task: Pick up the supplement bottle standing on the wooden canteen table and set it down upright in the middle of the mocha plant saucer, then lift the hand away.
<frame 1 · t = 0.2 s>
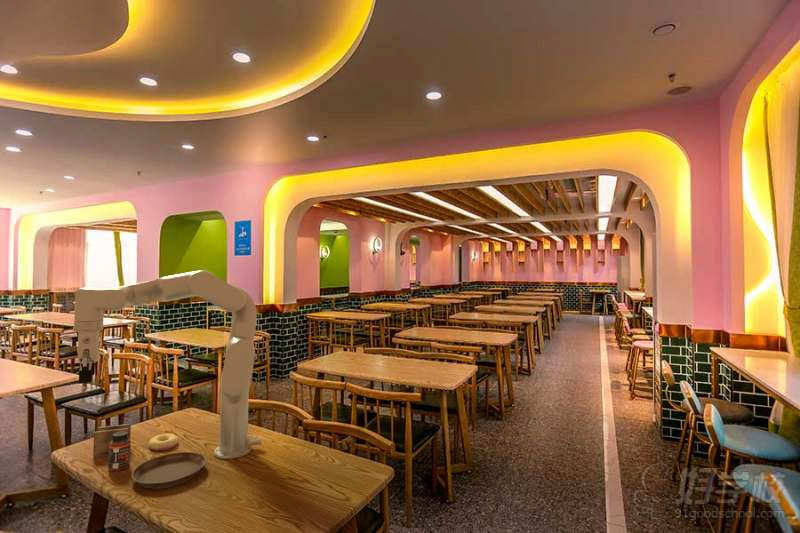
hand: (87, 378, 133), 30 cm above the table, tool pointing down, fingers open, 9 cm apart
supplement bottle: (119, 468, 136), on the table
donut: (163, 446, 153), on the table
napkin holder: (112, 452, 147), on the table
plant saucer: (169, 476, 132), on the table
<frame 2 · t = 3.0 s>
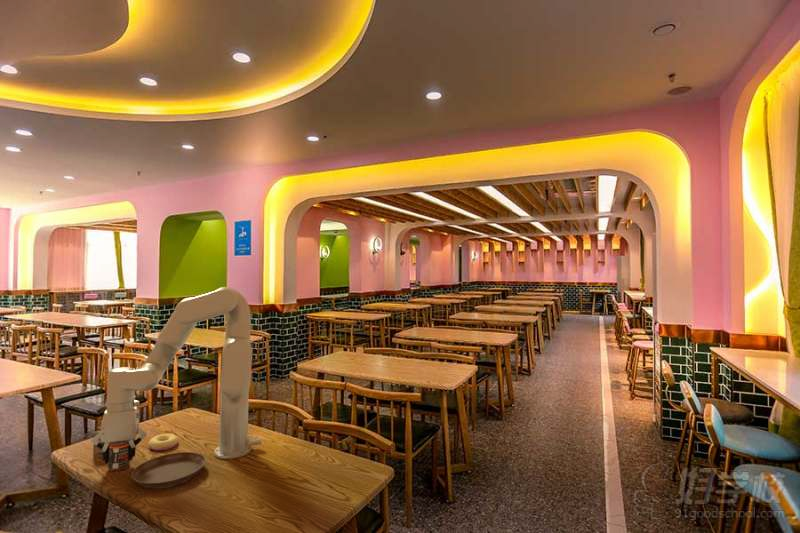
hand: (119, 459, 136), 3 cm above the table, tool pointing down, fingers closed on supplement bottle, 6 cm apart
supplement bottle: (119, 468, 136), on the table, touching gripper
everything else where it was.
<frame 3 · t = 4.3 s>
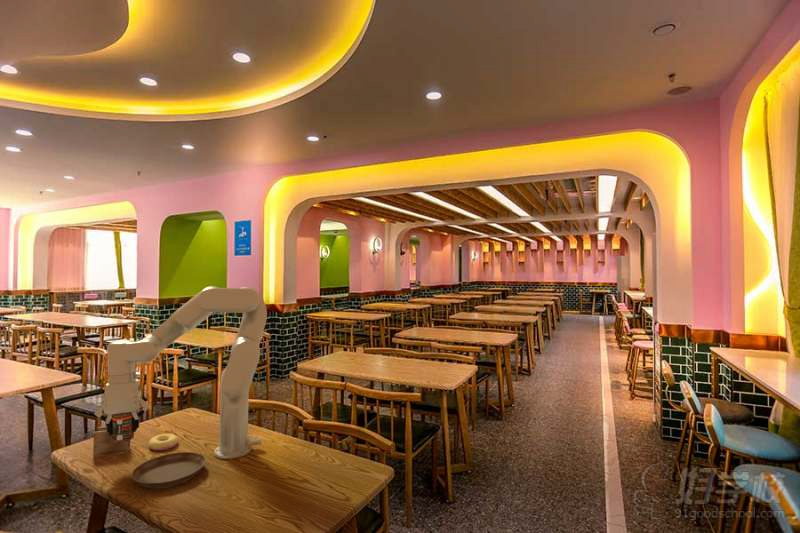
hand: (123, 431, 137), 12 cm above the table, tool pointing down, fingers closed on supplement bottle, 6 cm apart
supplement bottle: (123, 440, 137), point 9 cm above the table, touching gripper
everything else where it was.
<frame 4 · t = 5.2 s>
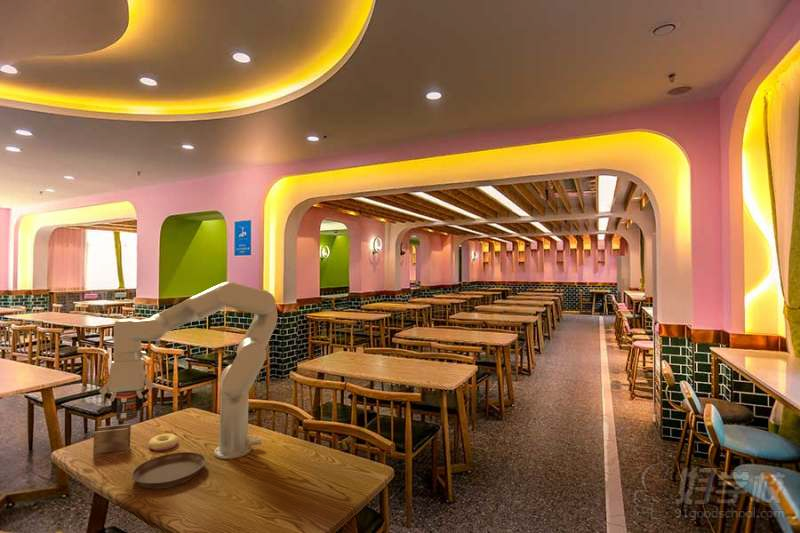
hand: (127, 410, 136), 19 cm above the table, tool pointing down, fingers closed on supplement bottle, 6 cm apart
supplement bottle: (127, 418, 136), point 16 cm above the table, touching gripper
everything else where it was.
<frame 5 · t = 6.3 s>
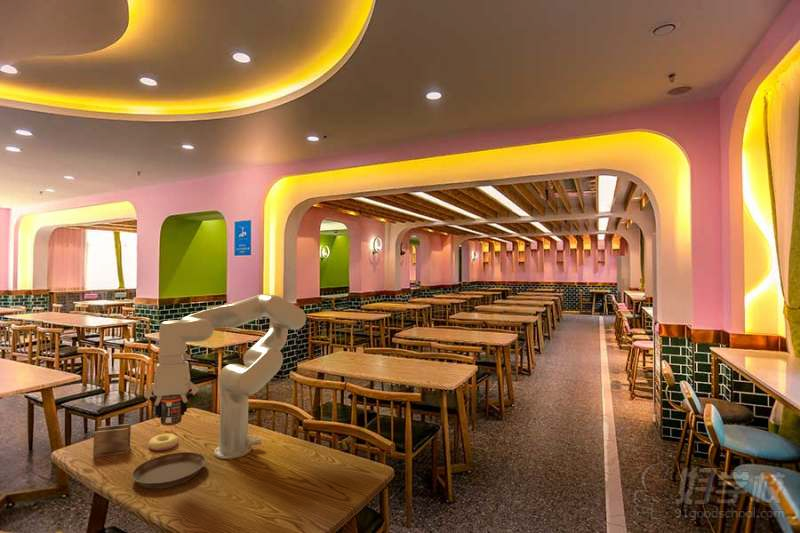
hand: (171, 414, 132), 19 cm above the table, tool pointing down, fingers closed on supplement bottle, 6 cm apart
supplement bottle: (171, 423, 132), point 16 cm above the table, touching gripper
everything else where it was.
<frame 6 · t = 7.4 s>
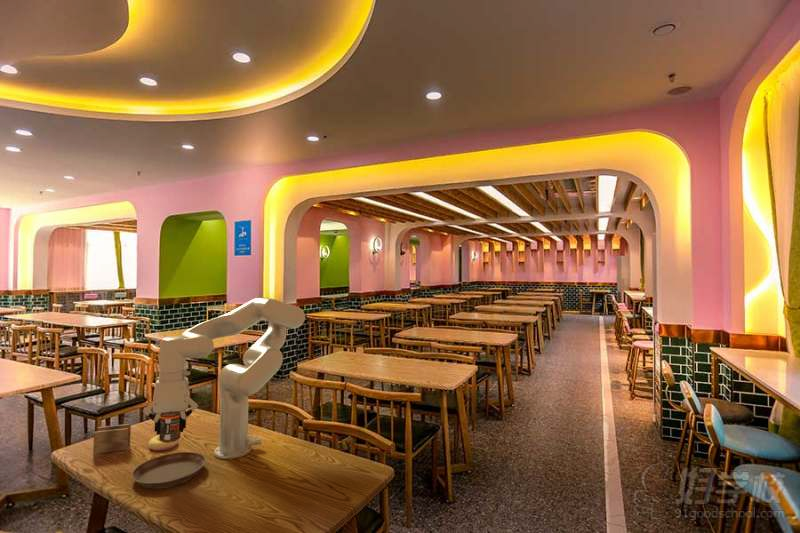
hand: (170, 431, 132), 14 cm above the table, tool pointing down, fingers closed on supplement bottle, 6 cm apart
supplement bottle: (170, 440, 132), point 11 cm above the table, touching gripper
everything else where it was.
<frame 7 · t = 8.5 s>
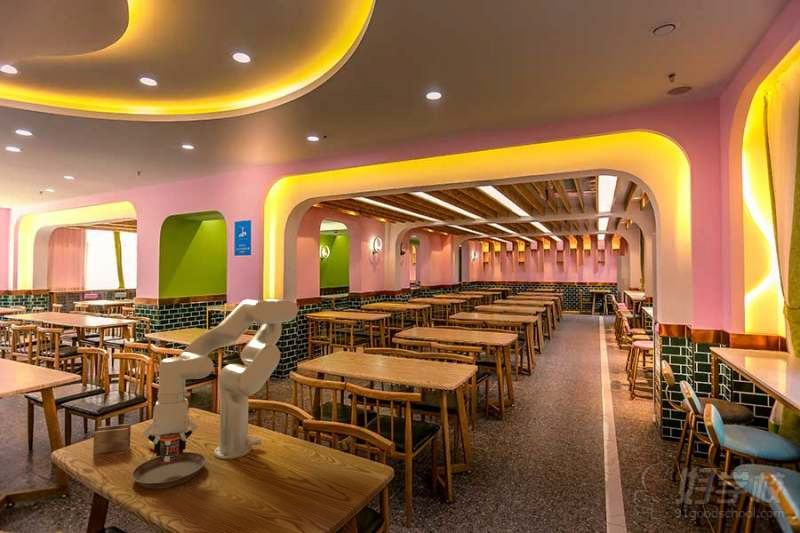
hand: (170, 452, 132), 7 cm above the table, tool pointing down, fingers closed on supplement bottle, 6 cm apart
supplement bottle: (169, 461, 132), point 4 cm above the table, touching gripper
everything else where it was.
when the fingers open (6 cm above the table, at t = 9.2 s): supplement bottle stays where it is, resting on plant saucer.
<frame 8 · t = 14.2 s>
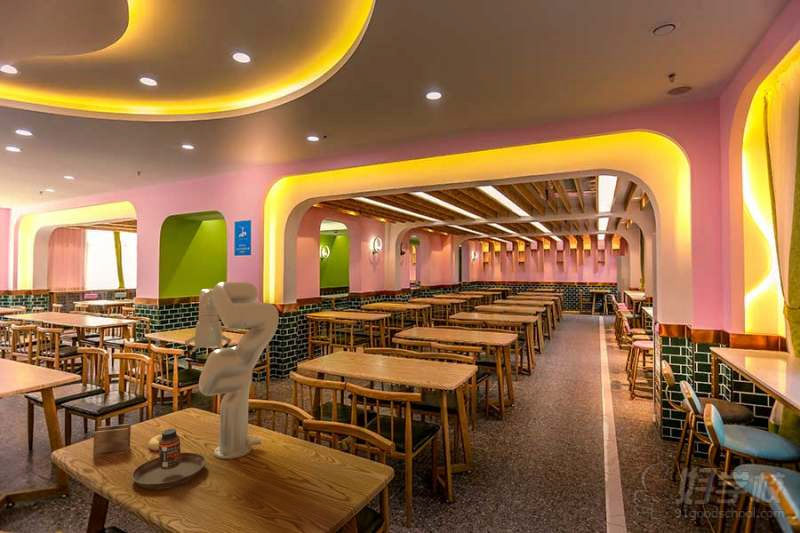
hand: (207, 360, 169), 28 cm above the table, tool pointing down, fingers open, 9 cm apart
supplement bottle: (170, 465, 132), point 3 cm above the table, touching plant saucer
plant saucer: (169, 477, 132), on the table, touching supplement bottle
everything else where it was.
at the end: supplement bottle inside the target area in the plant saucer (0.1 cm from its centre), point 3.6 cm above the plant saucer's base; supplement bottle touching plant saucer; supplement bottle tilted 5° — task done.
